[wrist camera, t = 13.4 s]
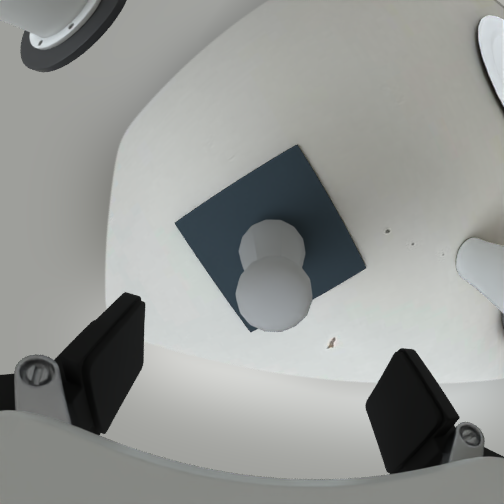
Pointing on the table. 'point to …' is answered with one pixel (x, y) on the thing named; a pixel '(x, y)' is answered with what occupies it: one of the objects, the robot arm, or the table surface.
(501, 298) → the drinking glass
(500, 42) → the plate
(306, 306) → the salt shaker
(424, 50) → the table surface
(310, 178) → the mat
